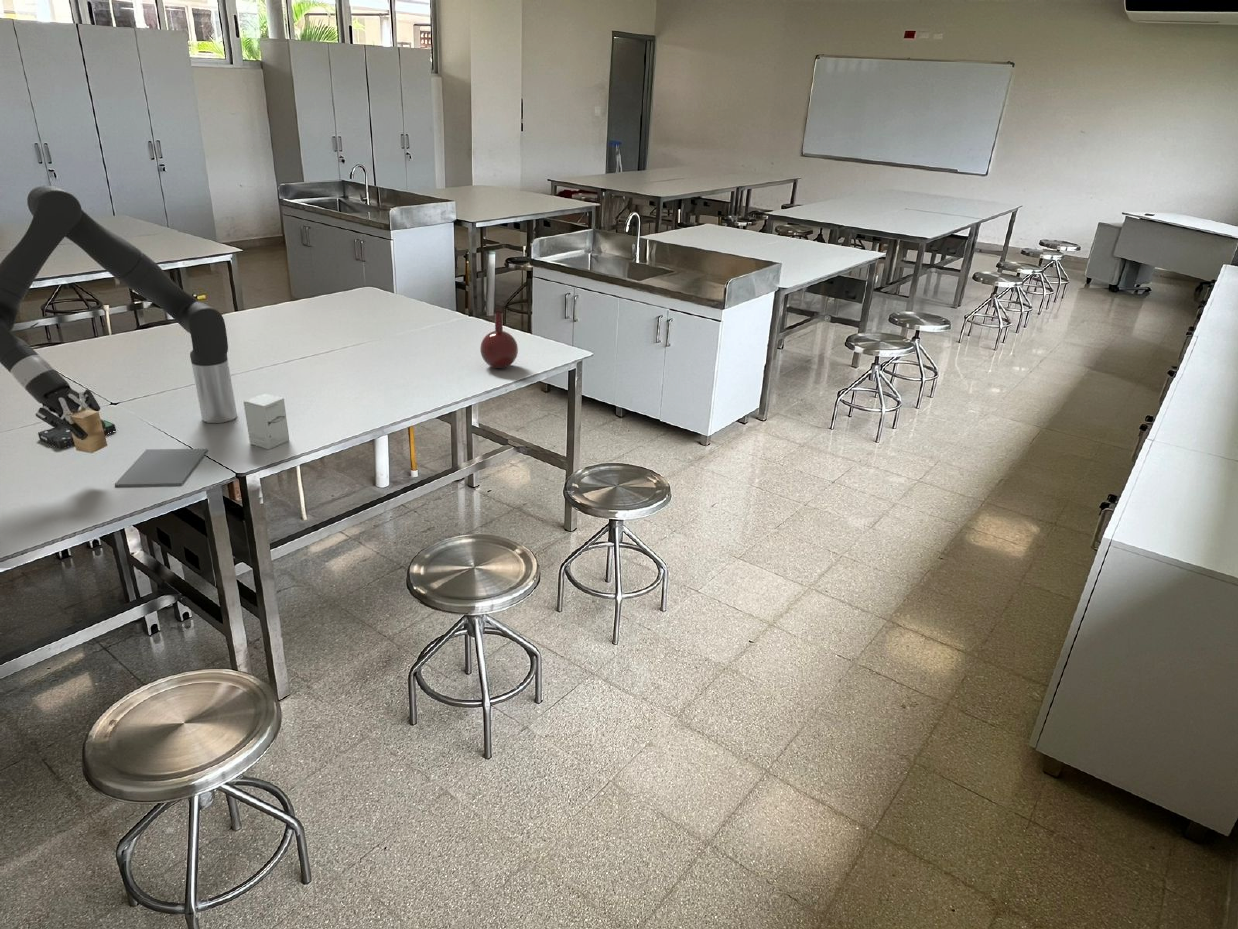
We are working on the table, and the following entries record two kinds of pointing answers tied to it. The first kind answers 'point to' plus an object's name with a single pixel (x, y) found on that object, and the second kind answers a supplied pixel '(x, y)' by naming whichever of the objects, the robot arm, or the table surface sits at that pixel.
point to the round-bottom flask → (499, 345)
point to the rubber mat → (162, 467)
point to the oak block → (89, 431)
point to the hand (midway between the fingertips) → (94, 433)
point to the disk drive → (66, 435)
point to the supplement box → (266, 421)
